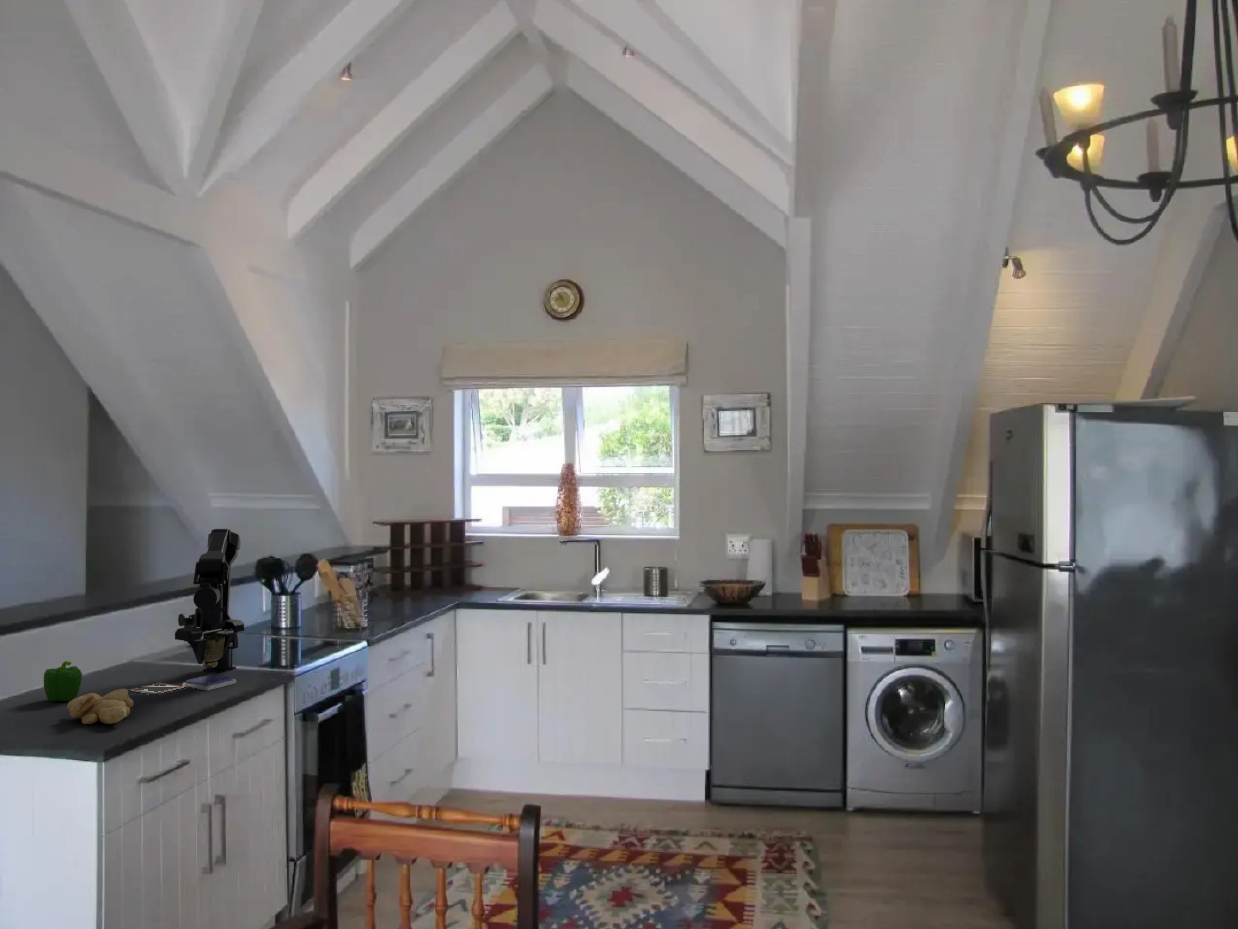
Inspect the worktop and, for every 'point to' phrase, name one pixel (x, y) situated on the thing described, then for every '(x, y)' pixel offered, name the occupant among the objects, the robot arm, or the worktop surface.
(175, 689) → the marked card
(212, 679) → the ink pad
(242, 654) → the worktop surface
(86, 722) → the ginger root
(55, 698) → the bell pepper
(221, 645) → the ornate bronze cup
